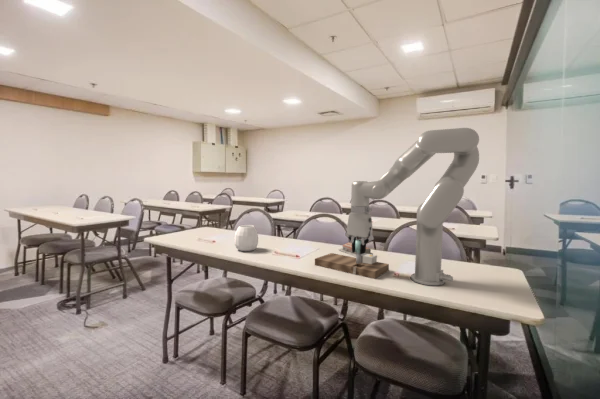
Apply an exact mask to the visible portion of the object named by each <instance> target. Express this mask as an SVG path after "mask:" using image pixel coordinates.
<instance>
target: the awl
mask: <svg viewBox="0 0 600 399" xmlns="http://www.w3.org/2000/svg"><path fill="white" fill-rule="evenodd" d="M360 245H362V241H361V238H359V239H356V240H355V252H356V256H355V258H356V263H357V264H360V263H361V254H360Z"/></svg>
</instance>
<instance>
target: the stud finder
mask: <svg viewBox="0 0 600 399" xmlns="http://www.w3.org/2000/svg"><path fill="white" fill-rule="evenodd" d="M377 256H378V255H377V254H373V255H372V254H367V253H364V254H361V263H367V264H373V263H376V262H378V261H377V260H378V257H377Z"/></svg>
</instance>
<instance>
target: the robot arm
mask: <svg viewBox="0 0 600 399" xmlns="http://www.w3.org/2000/svg"><path fill="white" fill-rule="evenodd" d="M479 142H480V136H479V134H478V132H477V131H476V130H474V129H473V128H471V127H457V128H446V129H444V128H443V129H431V130H426V131H424V132H423V133H422V134H420V135H419V137H418V139H417V140H416V141H415V142H414V143H413V144H412V145H411V146H409V147H408V149H406V151H405V152H403V153H402V154H401V155H400V156H398V157H397V159H396V160H395V161H394V163H393V165H392V166H391V167H390V169H389V170H388V171H387V172H386V173H384V174H383V175H382V176H381V177H380V178H379V179H378V180H376V181H367V180H366V181H364V180H355V181H352V183H351V193H350V194H351V196H350V197H351V199H350V201H351V202H350V212H349V214H348V218H347V219H348V220H347V227H346V232H345V234H344V236H346V237H347V238H348V240H349V241H350V243H352V252H353V253H354V252H355V240H356V239H357V238H360V240H361V241H362V245H360V254H364V253H365V251H366V247H367V245H368V243H369V242H370V241H373V240H374V239H375V238H374V235H373V221H372V220H373V219H372V214H371V213H370V212H372V210H373V209H372V208H371V207H370V199H372V200H382V199H384V198H386V197H387V196H388V195H389V194H391V193H392V192H393V191H394V190H395V189H396V188H397V187H398V186H400V185H401V184H402V183H404V181H405V180H407V179H408V178H410V177H411V176H412V175H414V174H415V172H417V171H418V170H419V169H421V167H422V166H423V165H425V163H427V161H429V160H430V159H432V157H434V156H435V155H436V154H452V153H453V159H452V161H451V163H450V164H449V165H448V167H447V169H446V171H445V172H444V173H443V174H442V176H440V179H439V180H437V182H436V183H435V185H434V187H433V188H432V191H431V192H430V193H429V194H428V196H427V197H426V199H425V201H423V202H422V203H421V204H419V205H418V207H417V210H416V233H415V234H416V235H415V257H414V258H415V261H414V262H415V264H414V265H415V266H414V273H412V274H410V279H411V281H413V282H415V283H417V284H421V285H425V286H442V285H444V284H445V283H446V281H447V282H453V280H454V277H453V276H452V275H451V274H447V273H444V269H442V261H443V260H442V257H443V255H442V254H443V231H444V229H443V226H444V223H445V222H446V220H447V219H448V217H450V215H452V213H453V211H454V210H455V208H456V207H457V205H459V203H460V202H461V200H462V199H463V196H464V193H465V192H464V191H465V187H466V185H467V184H468V183H469V181H470V180H471V178H472V176H473V175H474V174H475V171H476V170H477V168H478V167H479V166H478V165H479V163H480V152H479V151H480V150H479V148H478V145H479Z"/></svg>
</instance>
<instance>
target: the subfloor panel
mask: <svg viewBox="0 0 600 399" xmlns="http://www.w3.org/2000/svg"><path fill="white" fill-rule="evenodd" d="M314 266H318V267H322V268H326V269H331V270H335V271H339V272H343V273H347V274H351V275H356V276H360V277H364V278H370V279H374V280H375V279H377V278H379V277H380V276H382V275H384V274H387V272H389V269H390V265H389V263H385V262H381V261H380V262H379V261H377V262H376V263H373V264H367V263H360V264H357V263H356V257H355V256H350V255H349V256H348V255H344V254H338V253H333V252H331V253H328V254H325V255H322V256H319V257H316V258H314Z"/></svg>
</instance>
